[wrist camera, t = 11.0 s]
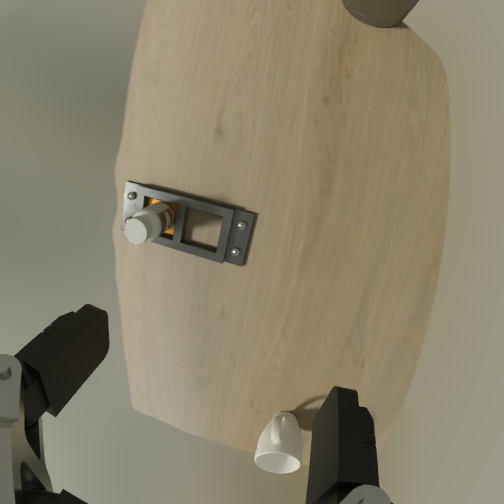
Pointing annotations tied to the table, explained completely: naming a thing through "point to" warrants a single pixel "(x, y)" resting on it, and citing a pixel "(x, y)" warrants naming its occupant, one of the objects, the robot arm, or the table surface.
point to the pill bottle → (149, 223)
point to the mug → (280, 445)
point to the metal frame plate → (232, 228)
